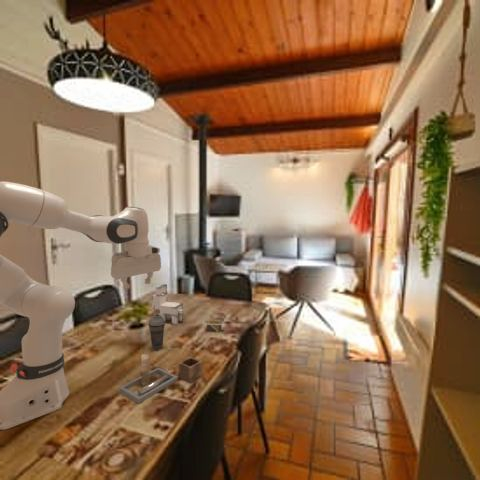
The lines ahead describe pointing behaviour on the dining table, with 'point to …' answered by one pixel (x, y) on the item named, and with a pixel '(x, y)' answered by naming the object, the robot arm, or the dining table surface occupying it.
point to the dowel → (145, 369)
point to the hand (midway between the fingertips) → (137, 286)
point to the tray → (140, 399)
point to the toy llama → (167, 305)
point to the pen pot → (190, 369)
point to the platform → (214, 325)
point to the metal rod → (153, 385)
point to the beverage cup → (156, 331)
